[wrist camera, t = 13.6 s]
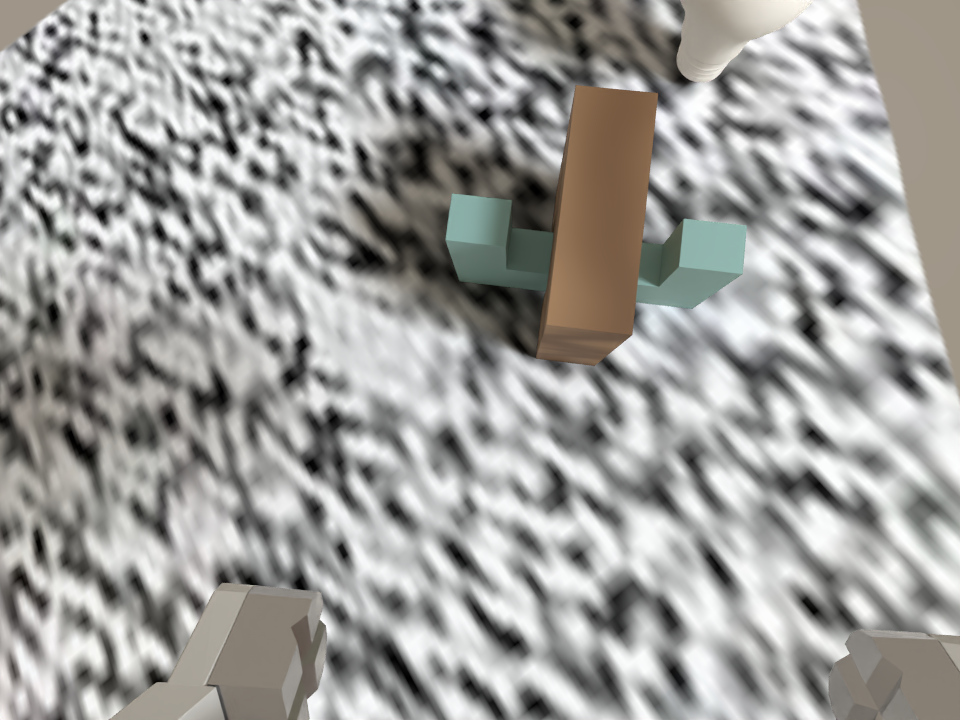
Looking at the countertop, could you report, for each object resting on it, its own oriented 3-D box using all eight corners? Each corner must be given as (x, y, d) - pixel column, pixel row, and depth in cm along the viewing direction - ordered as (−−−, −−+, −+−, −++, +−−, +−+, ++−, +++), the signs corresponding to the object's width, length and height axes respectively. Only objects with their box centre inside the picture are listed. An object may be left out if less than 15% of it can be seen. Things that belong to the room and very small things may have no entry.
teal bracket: (459, 281, 33) (445, 239, 26) (464, 244, 33) (452, 193, 26) (692, 308, 32) (742, 274, 25) (695, 270, 32) (746, 225, 25)
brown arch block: (535, 358, 32) (546, 324, 22) (556, 190, 33) (575, 85, 23) (594, 365, 32) (632, 334, 22) (613, 196, 33) (657, 93, 23)
